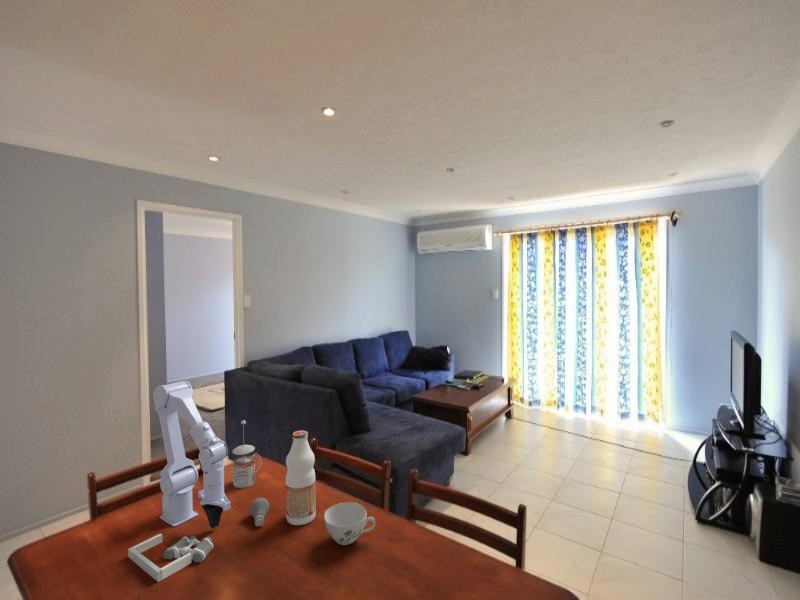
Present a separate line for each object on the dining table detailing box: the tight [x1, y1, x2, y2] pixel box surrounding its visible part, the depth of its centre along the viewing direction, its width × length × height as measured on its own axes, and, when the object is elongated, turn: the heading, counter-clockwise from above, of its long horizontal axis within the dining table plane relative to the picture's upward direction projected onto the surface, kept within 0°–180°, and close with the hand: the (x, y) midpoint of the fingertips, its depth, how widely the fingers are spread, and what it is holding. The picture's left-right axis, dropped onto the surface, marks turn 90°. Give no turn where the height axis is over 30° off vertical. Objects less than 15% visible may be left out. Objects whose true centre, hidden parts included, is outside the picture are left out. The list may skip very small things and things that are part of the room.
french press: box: [231, 419, 263, 489], centre depth 151 cm, size 10×12×25 cm
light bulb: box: [249, 497, 270, 528], centre depth 128 cm, size 6×6×10 cm
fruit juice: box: [285, 430, 317, 526], centre depth 129 cm, size 9×9×28 cm
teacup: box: [323, 501, 376, 546], centre depth 117 cm, size 15×12×8 cm
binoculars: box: [162, 535, 214, 564], centre depth 112 cm, size 12×8×4 cm, turn 82°
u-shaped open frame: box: [127, 533, 192, 583], centre depth 109 cm, size 17×8×2 cm, turn 56°
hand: (214, 526), depth 122 cm, fingers closed
